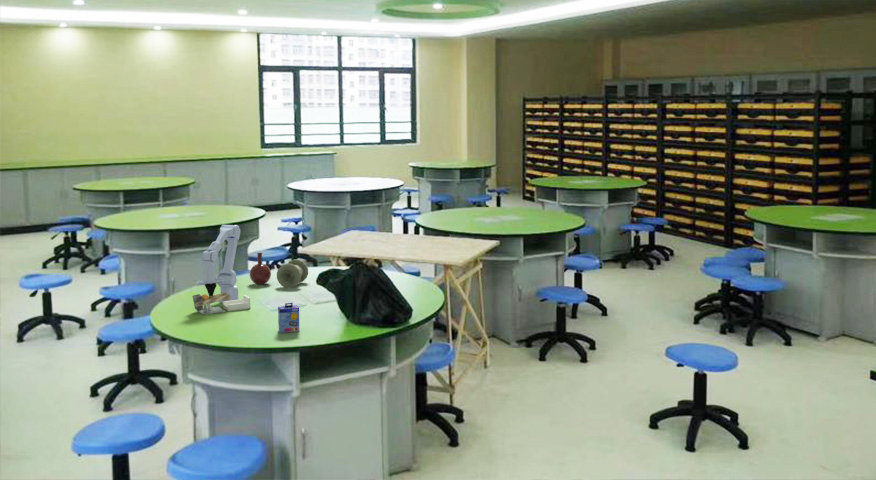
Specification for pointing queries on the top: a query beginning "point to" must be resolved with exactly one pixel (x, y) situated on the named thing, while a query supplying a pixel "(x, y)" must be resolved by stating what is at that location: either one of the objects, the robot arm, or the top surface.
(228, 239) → the robot arm
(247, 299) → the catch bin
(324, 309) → the top surface
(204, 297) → the ball
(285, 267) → the spool
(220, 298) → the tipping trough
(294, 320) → the ink cartridge box
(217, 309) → the lever stand
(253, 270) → the round-bottom flask
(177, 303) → the top surface
